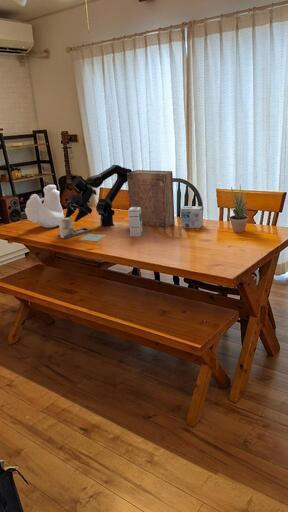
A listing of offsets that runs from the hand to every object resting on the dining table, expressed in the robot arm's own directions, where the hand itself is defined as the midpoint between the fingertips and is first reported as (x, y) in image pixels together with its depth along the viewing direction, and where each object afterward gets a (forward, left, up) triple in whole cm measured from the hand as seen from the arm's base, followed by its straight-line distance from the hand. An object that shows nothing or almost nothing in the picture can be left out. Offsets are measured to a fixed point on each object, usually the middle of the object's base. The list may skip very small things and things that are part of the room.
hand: (70, 220), depth 221 cm
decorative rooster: (+7, -29, -9) cm, 31 cm away
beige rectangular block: (+3, +1, -9) cm, 9 cm away
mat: (-7, +13, -9) cm, 17 cm away
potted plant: (-73, +52, -9) cm, 90 cm away
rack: (-2, -1, -9) cm, 9 cm away
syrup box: (-28, +23, -9) cm, 37 cm away
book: (-46, +8, -9) cm, 48 cm away
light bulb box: (-60, +28, -9) cm, 67 cm away
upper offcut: (-5, -1, -8) cm, 10 cm away
